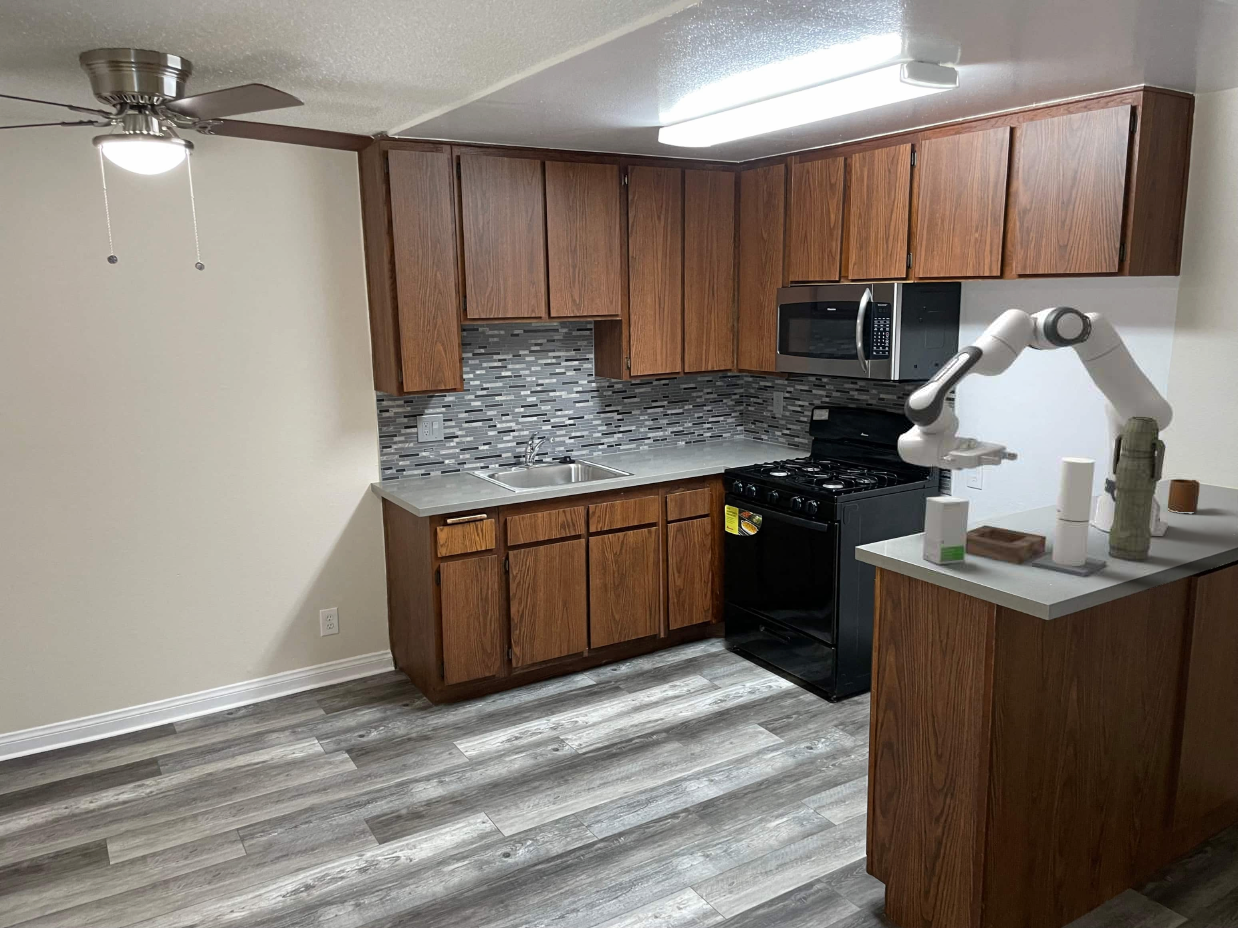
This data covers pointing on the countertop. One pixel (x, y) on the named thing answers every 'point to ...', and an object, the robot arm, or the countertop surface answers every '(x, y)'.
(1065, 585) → the countertop surface
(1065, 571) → the rubber mat
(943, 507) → the skincare box
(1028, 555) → the pocket block
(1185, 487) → the mug
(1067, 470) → the cylindrical container
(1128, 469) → the thermos
